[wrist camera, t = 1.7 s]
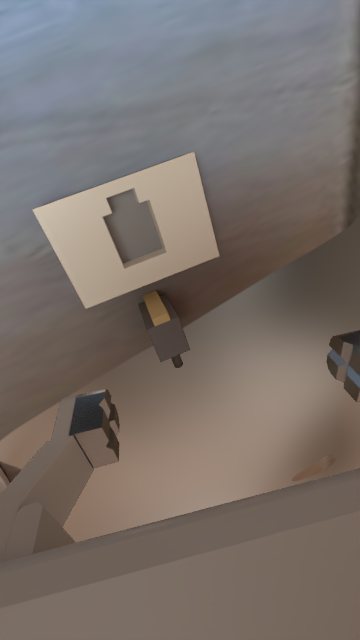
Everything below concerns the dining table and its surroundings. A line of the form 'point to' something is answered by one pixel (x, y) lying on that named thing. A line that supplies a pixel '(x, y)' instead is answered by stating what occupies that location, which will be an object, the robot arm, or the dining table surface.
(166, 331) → the plug
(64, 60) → the dining table surface
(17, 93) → the dining table surface
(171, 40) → the dining table surface
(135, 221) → the socket block
